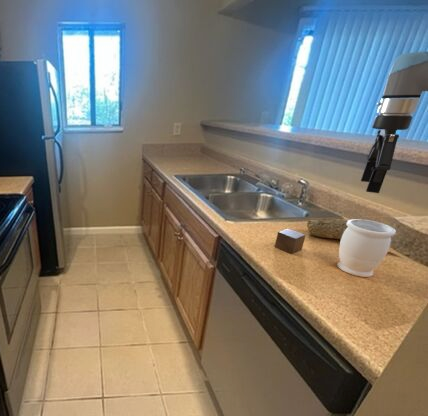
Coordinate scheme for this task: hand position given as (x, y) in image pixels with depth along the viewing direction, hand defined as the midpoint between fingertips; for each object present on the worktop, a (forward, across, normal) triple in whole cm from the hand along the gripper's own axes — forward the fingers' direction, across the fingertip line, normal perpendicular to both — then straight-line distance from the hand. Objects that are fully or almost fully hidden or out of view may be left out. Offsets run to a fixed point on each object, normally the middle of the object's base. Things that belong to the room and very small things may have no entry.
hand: (369, 186), depth 85 cm
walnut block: (+24, +7, -16) cm, 30 cm away
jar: (+24, +11, +1) cm, 26 cm away
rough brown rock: (+24, -14, -2) cm, 28 cm away
